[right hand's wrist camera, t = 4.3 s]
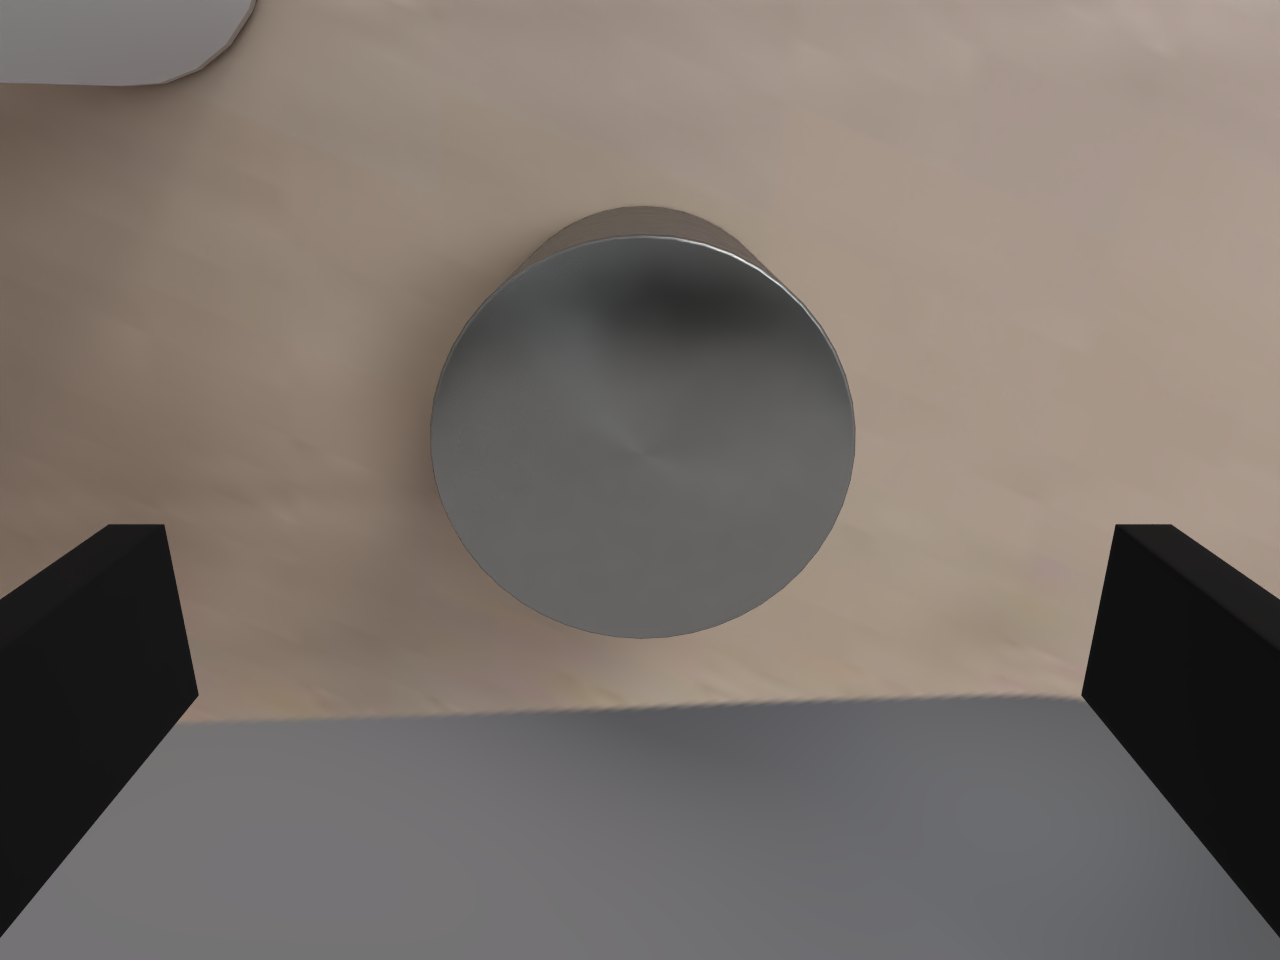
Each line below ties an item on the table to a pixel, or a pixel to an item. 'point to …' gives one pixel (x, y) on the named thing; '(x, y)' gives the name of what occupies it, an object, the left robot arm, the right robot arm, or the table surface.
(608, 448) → the tin
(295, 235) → the table surface
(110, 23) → the mug
